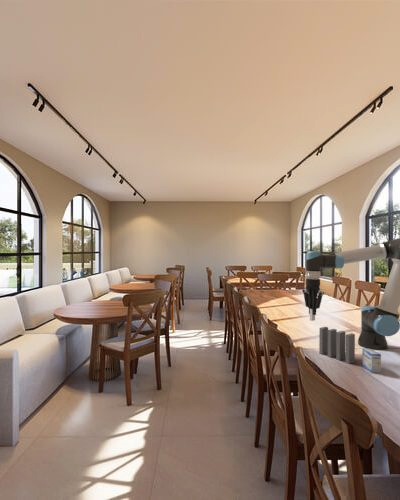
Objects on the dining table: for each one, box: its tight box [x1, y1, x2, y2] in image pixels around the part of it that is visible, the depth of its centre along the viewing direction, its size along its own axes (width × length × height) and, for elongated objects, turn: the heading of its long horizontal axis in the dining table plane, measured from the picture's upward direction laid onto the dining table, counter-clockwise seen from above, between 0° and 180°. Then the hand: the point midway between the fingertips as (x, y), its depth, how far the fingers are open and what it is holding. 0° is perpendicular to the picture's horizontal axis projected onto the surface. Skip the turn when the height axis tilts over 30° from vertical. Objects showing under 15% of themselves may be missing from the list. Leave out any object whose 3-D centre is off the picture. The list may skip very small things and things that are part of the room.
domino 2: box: [327, 328, 338, 358], centre depth 159 cm, size 5×2×14 cm, turn 122°
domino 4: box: [345, 332, 356, 364], centre depth 150 cm, size 5×2×14 cm, turn 122°
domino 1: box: [318, 326, 329, 355], centre depth 163 cm, size 5×2×14 cm, turn 122°
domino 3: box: [335, 330, 346, 361], centre depth 155 cm, size 5×2×14 cm, turn 122°
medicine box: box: [361, 348, 382, 374], centre depth 142 cm, size 8×4×9 cm, turn 2°
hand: (312, 320), depth 169 cm, fingers closed
